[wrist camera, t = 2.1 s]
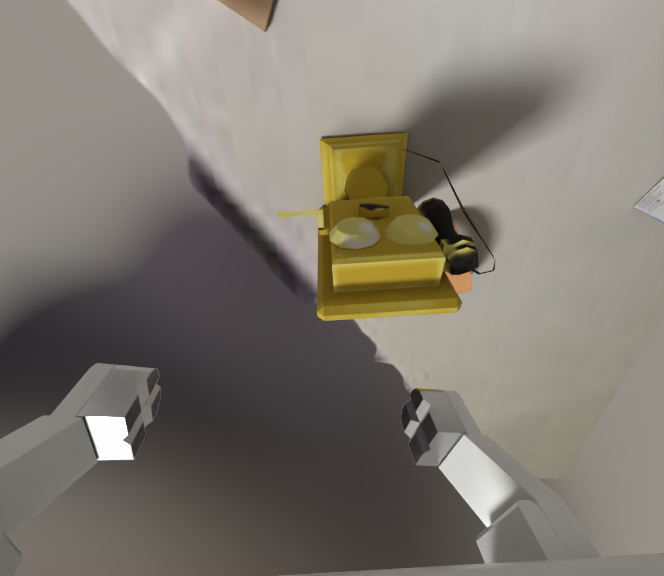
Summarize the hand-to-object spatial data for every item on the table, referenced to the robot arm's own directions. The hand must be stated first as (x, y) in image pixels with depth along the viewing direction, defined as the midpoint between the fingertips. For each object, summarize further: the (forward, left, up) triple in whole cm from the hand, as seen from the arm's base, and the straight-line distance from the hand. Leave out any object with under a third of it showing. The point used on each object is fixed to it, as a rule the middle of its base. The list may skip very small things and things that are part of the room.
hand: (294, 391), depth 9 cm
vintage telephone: (+4, +13, -49) cm, 51 cm away
